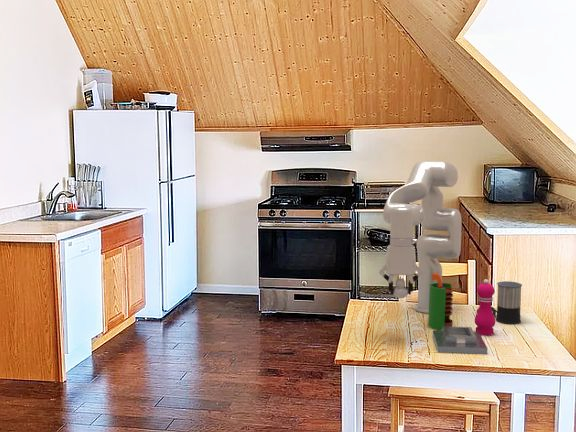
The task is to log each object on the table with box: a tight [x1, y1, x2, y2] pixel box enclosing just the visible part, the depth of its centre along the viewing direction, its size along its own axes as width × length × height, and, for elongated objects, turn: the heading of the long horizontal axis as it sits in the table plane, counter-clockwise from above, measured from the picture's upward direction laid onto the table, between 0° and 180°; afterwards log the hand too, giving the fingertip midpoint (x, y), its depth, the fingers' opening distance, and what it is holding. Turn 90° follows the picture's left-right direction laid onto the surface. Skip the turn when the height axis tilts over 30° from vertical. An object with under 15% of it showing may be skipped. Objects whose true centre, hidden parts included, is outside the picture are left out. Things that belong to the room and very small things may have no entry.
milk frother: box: [476, 280, 523, 325], centre depth 247 cm, size 14×16×15 cm
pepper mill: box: [474, 278, 496, 337], centre depth 229 cm, size 7×7×20 cm
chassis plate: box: [432, 325, 488, 355], centre depth 217 cm, size 18×16×4 cm
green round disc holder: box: [427, 273, 454, 330], centre depth 238 cm, size 10×9×20 cm
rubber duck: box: [392, 275, 409, 299], centre depth 220 cm, size 5×7×8 cm
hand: (400, 293), depth 220 cm, fingers closed on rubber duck, 5 cm apart
